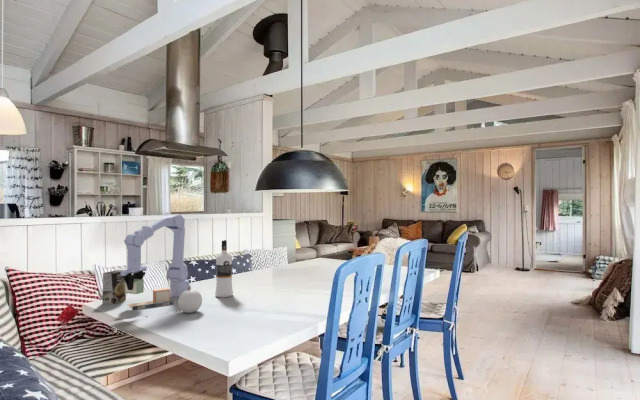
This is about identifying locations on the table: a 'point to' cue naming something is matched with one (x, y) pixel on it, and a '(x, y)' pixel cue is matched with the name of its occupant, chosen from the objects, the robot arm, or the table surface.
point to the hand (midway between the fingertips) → (134, 288)
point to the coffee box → (113, 287)
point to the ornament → (190, 300)
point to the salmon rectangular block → (161, 295)
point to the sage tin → (136, 287)
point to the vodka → (224, 273)
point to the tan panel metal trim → (148, 304)
